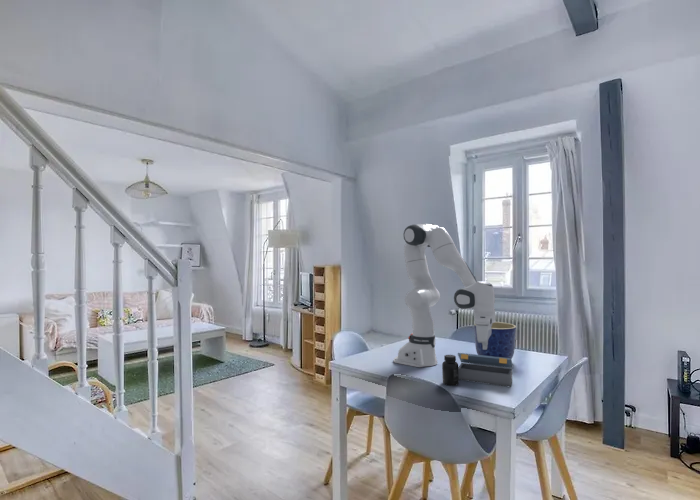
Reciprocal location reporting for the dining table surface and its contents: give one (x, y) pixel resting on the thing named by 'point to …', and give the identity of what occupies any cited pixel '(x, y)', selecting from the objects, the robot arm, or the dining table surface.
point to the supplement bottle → (450, 371)
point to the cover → (485, 360)
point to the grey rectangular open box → (485, 374)
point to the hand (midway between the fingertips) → (485, 348)
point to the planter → (498, 341)
